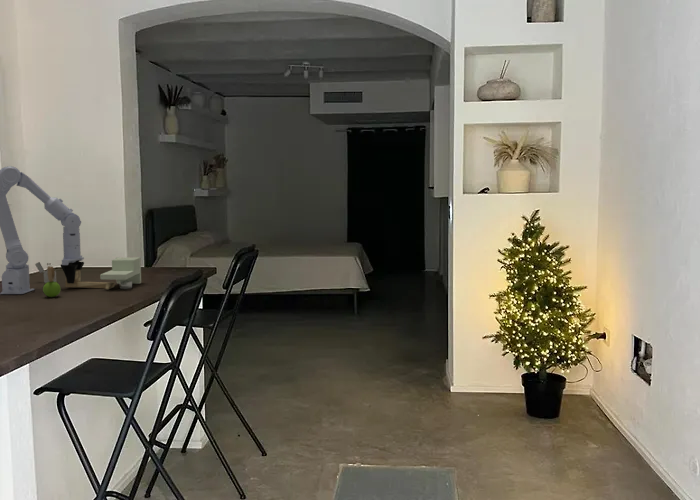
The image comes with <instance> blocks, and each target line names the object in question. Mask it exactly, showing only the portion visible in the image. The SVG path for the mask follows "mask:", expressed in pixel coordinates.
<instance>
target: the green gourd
mask: <svg viewBox="0 0 700 500" xmlns="http://www.w3.org/2000/svg"><path fill="white" fill-rule="evenodd" d="M51 264H52V263H49V262H47V263H46V265H47V267H46V271H47V270H48V280H49V282H47V283H44V285H43V287H42V292H43V293H44V295H45V297H48V298H54V297H57V296H58V295H59V294H60V293H61V286H60V283H58V281H56V282H54V276H55V271H56V270H55V268H54V267H53V266H51Z"/></svg>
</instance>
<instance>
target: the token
mask: <svg viewBox="0 0 700 500" xmlns="http://www.w3.org/2000/svg"><path fill="white" fill-rule="evenodd" d="M118 285H119V289H120V290H130V289H133V284H132V281H120V282H119V284H118Z"/></svg>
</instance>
